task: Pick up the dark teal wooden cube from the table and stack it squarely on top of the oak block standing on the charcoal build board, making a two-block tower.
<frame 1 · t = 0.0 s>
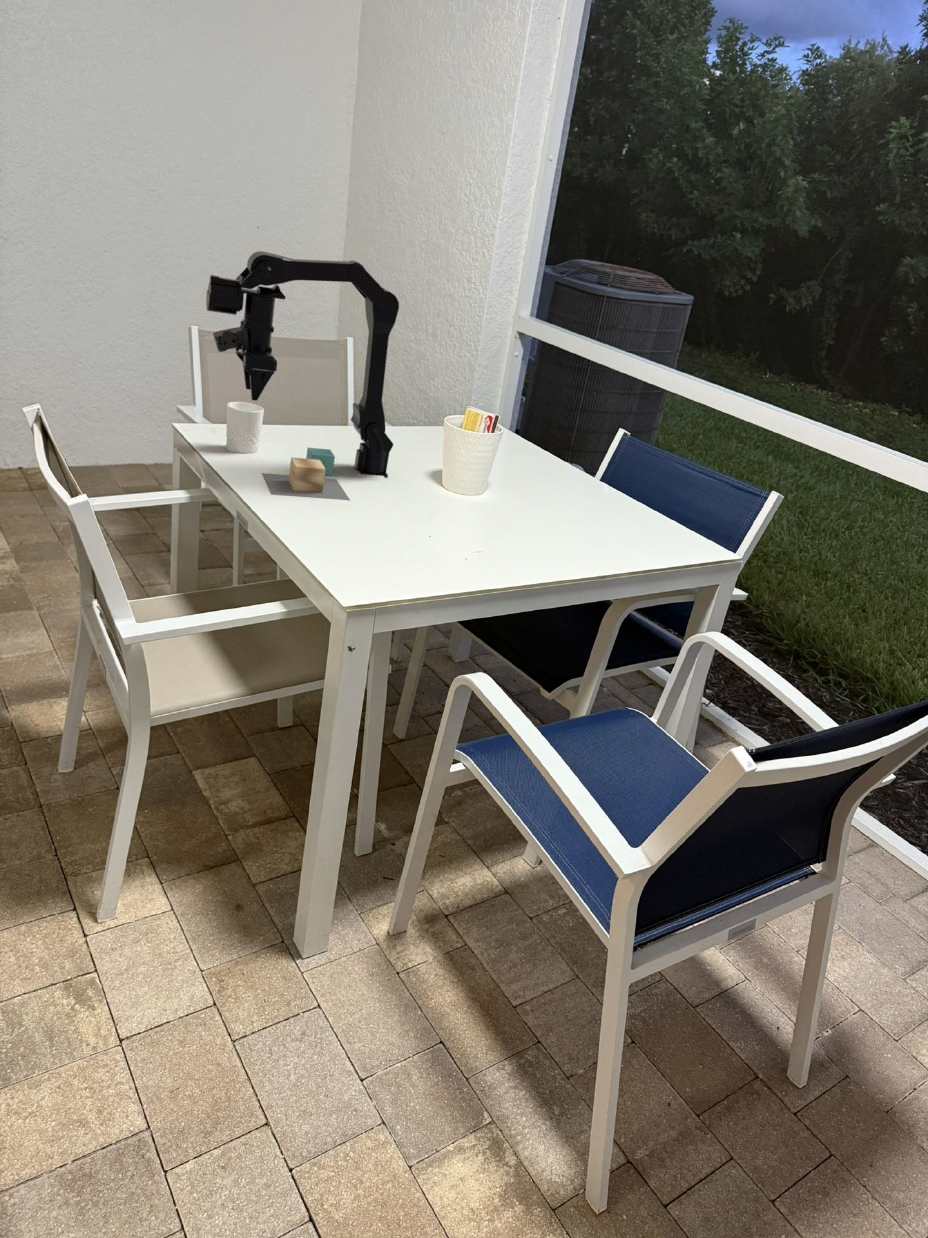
hand: (251, 394, 191), 15 cm above the table, tool pointing down, fingers open, 9 cm apart
white cup: (241, 451, 204), on the table
oak base block: (305, 486, 189), resting on build board
teal cube: (318, 473, 200), on the table
build board: (305, 488, 189), on the table
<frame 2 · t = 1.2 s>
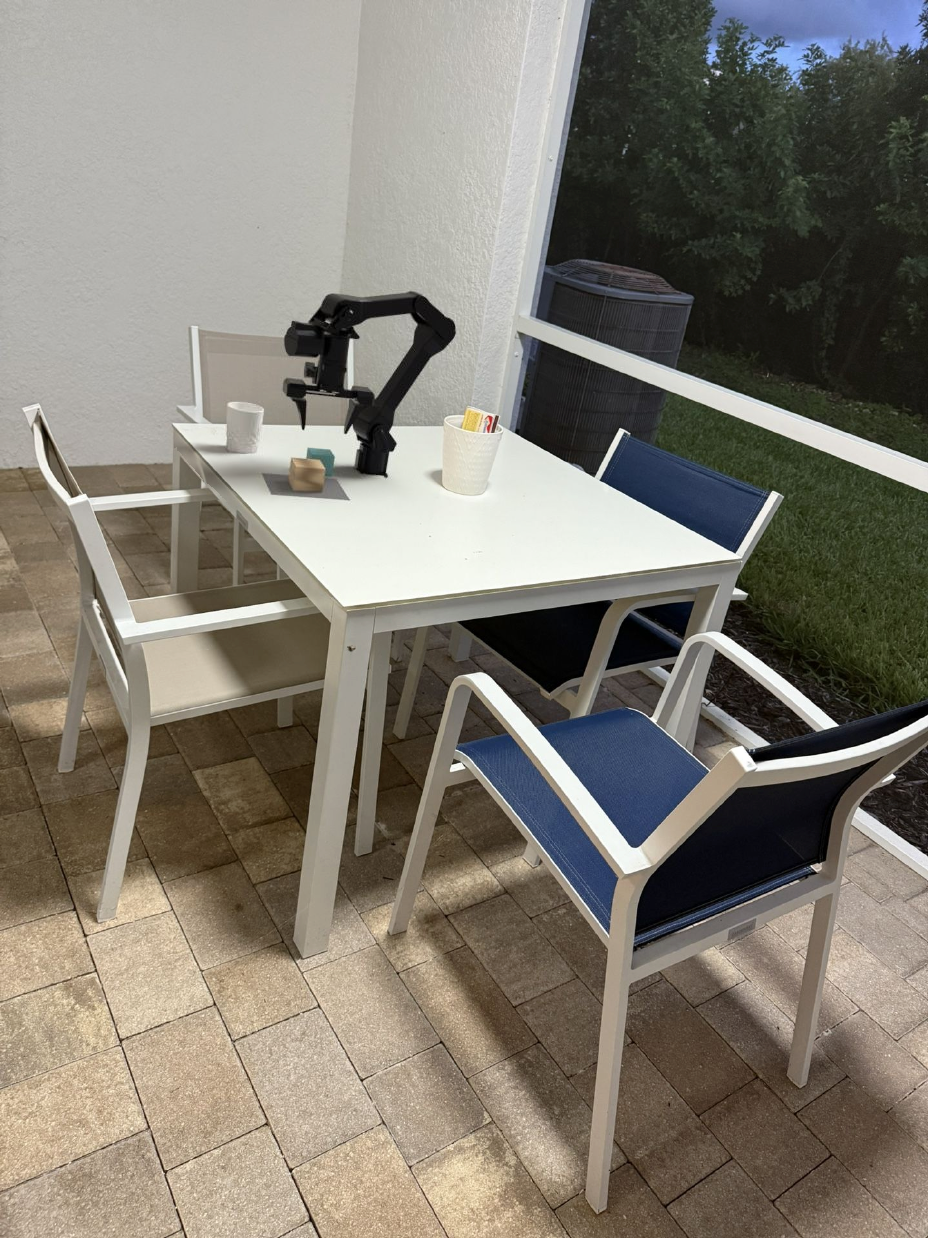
hand: (324, 431, 196), 9 cm above the table, tool pointing down, fingers open, 9 cm apart
nothing on the table moved.
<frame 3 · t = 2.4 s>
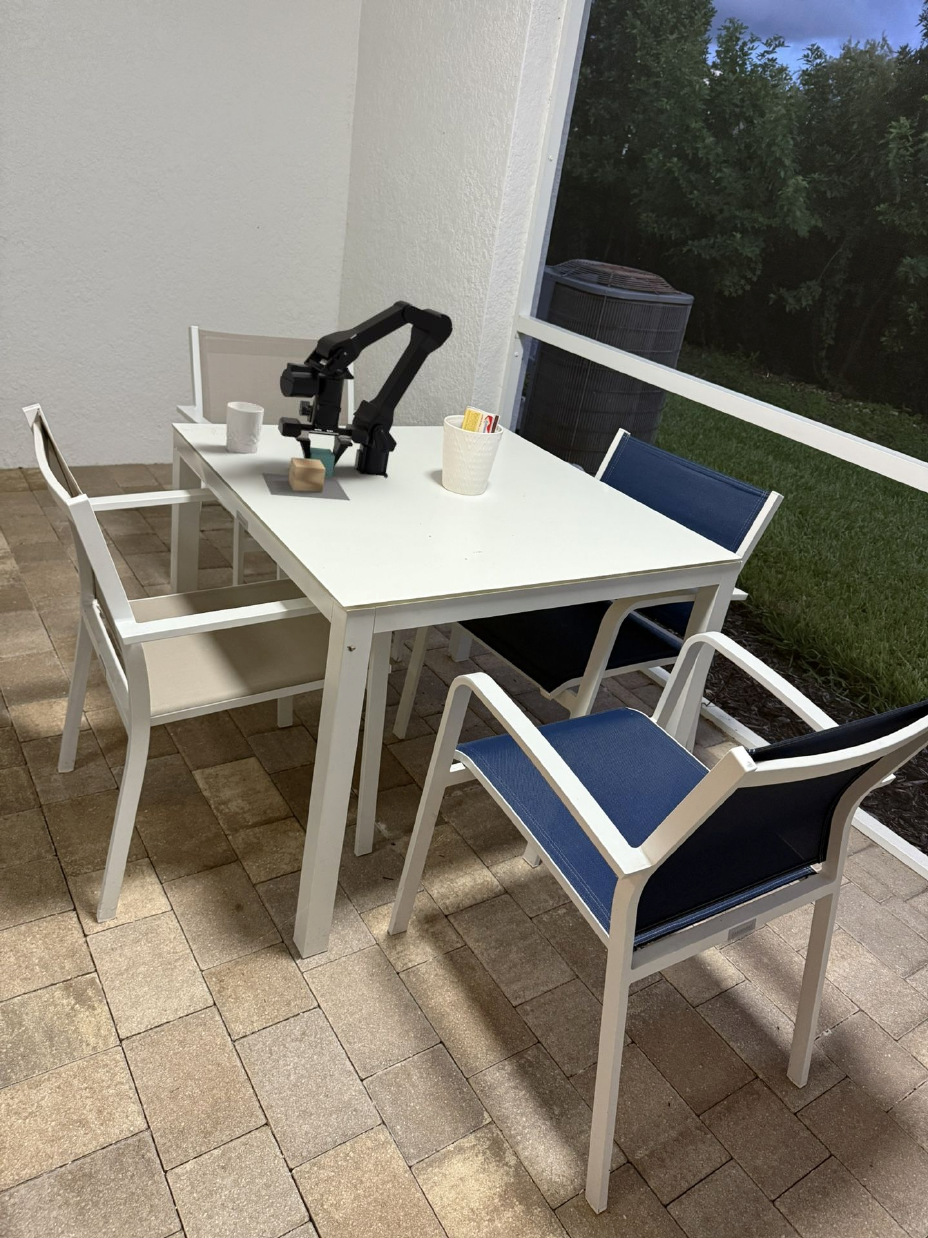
hand: (318, 468, 200), 1 cm above the table, tool pointing down, fingers closed on teal cube, 5 cm apart
teal cube: (318, 473, 200), on the table, touching gripper
everything else where it was.
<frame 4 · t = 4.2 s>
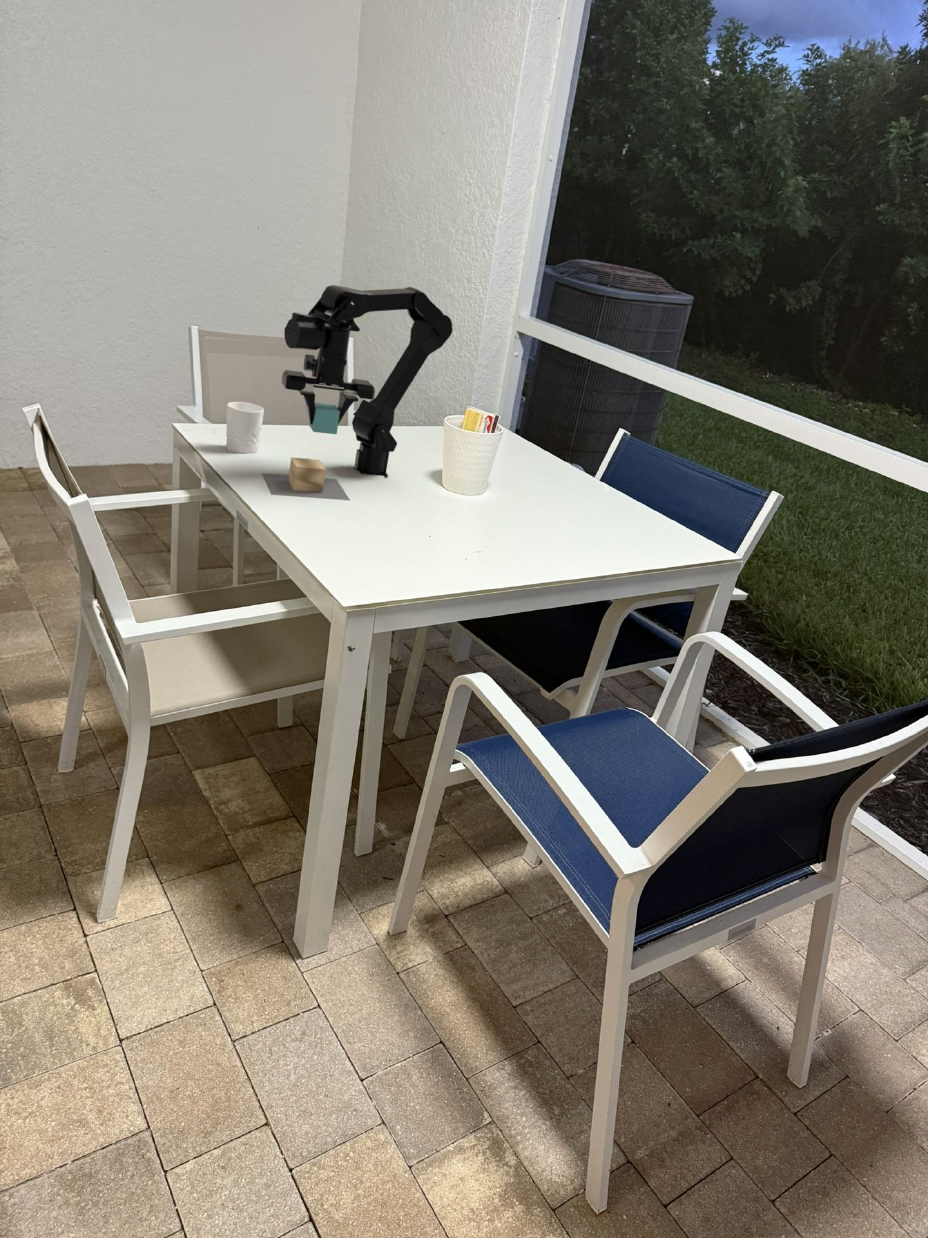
hand: (323, 424, 195), 11 cm above the table, tool pointing down, fingers closed on teal cube, 5 cm apart
teal cube: (322, 429, 195), point 10 cm above the table, touching gripper
everything else where it was.
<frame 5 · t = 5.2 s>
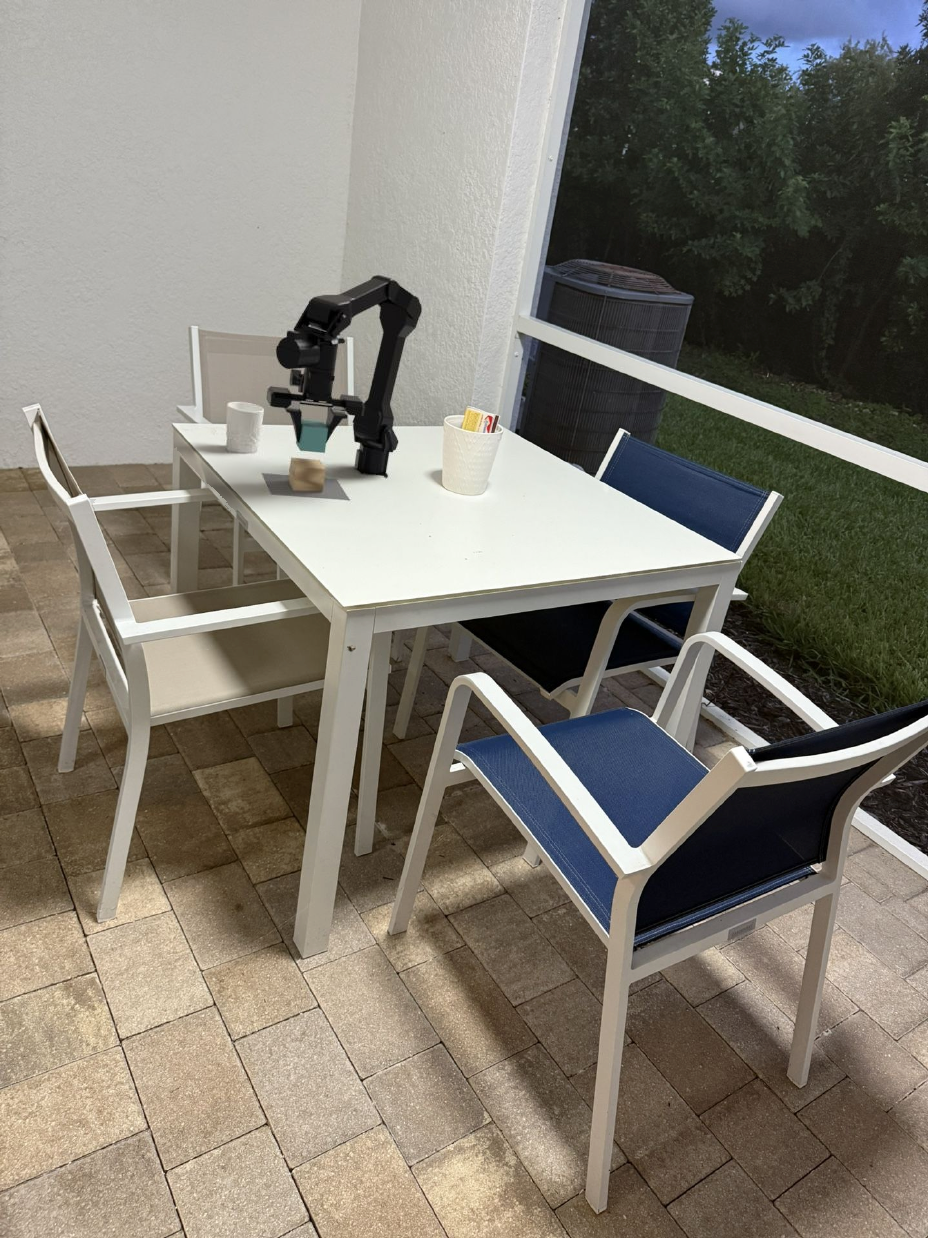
hand: (310, 443, 185), 10 cm above the table, tool pointing down, fingers closed on teal cube, 5 cm apart
teal cube: (310, 447, 185), point 9 cm above the table, touching gripper
everything else where it was.
when the fingers open (8 cm above the table, at t = 5.9 s): teal cube drops 1 cm, resting on oak base block.
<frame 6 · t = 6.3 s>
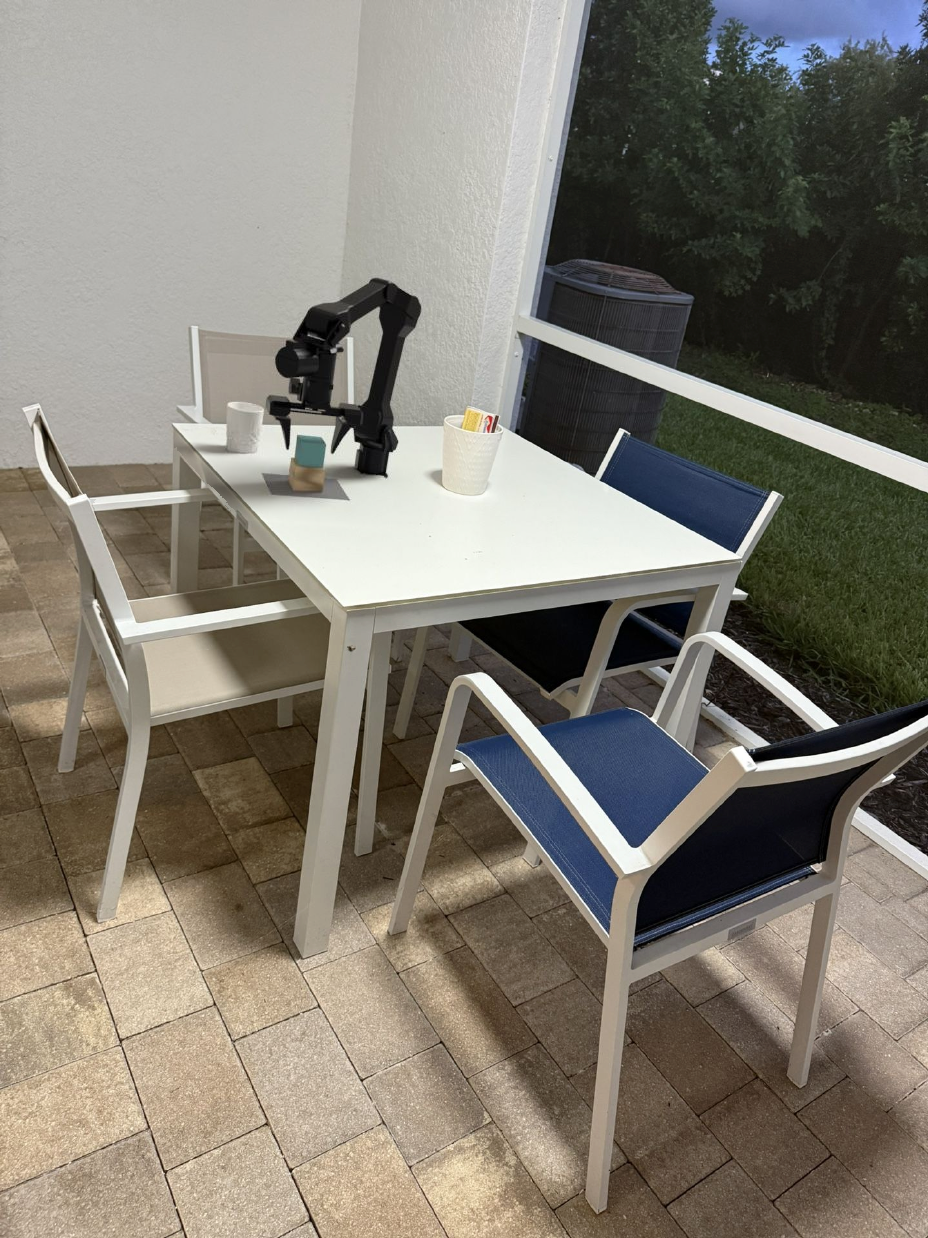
hand: (309, 451, 186), 8 cm above the table, tool pointing down, fingers open, 9 cm apart
oak base block: (305, 486, 189), resting on build board, touching teal cube
teal cube: (308, 463, 187), point 5 cm above the table, touching oak base block
everything else where it was.
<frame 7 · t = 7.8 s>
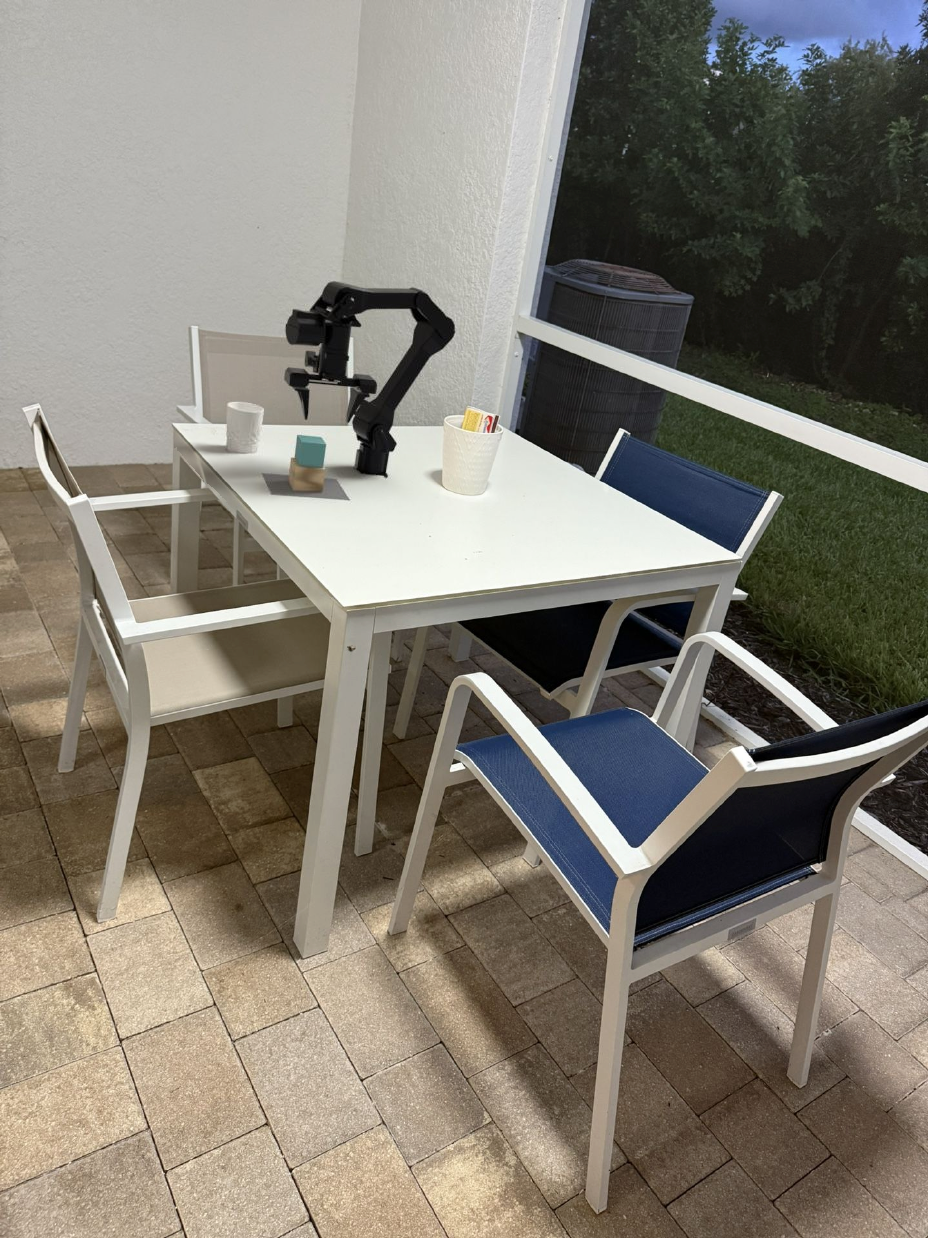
hand: (326, 420, 195), 12 cm above the table, tool pointing down, fingers open, 9 cm apart
nothing on the table moved.
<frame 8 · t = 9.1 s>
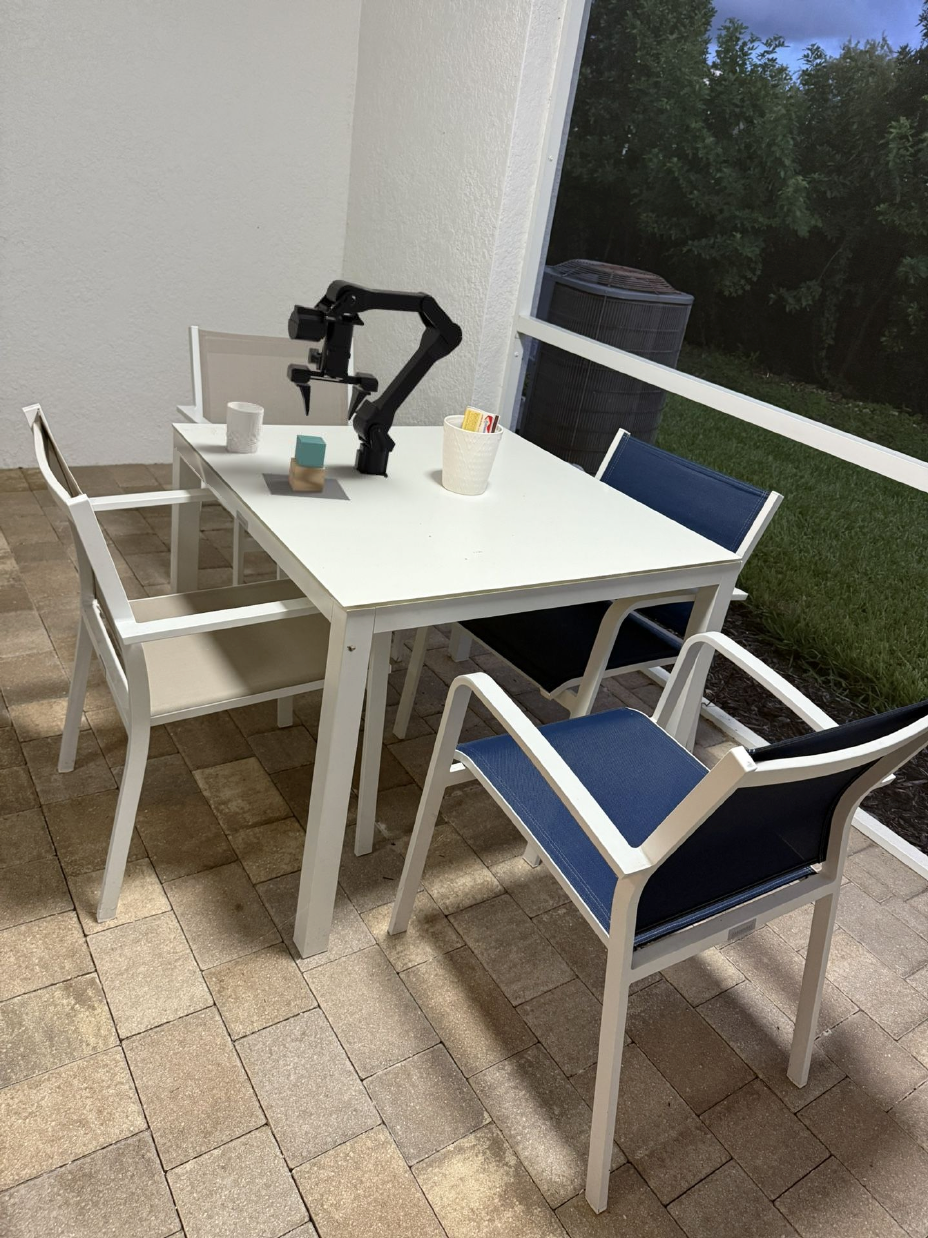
hand: (327, 417, 197), 12 cm above the table, tool pointing down, fingers open, 9 cm apart
nothing on the table moved.
at the end: teal cube 0.1 cm off-centre on the oak base block, point 5.0 cm above the oak base block's base; teal cube tilted 0°; the gripper is holding nothing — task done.
